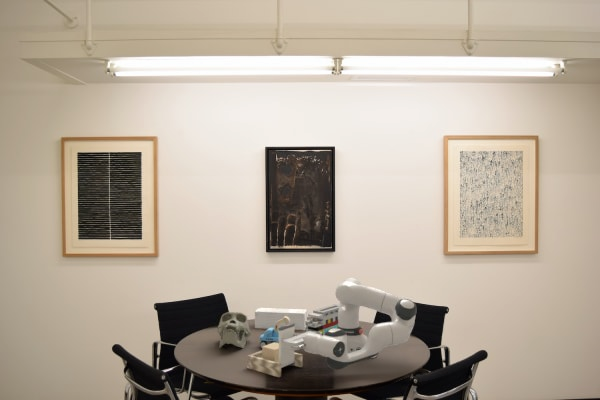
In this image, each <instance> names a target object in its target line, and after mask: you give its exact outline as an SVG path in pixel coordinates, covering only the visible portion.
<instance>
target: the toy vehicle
mask: <svg viewBox="0 0 600 400" xmlns="http://www.w3.org/2000/svg"><path fill="white" fill-rule="evenodd" d="M339 305H340V304H336V303H335V304H331V305H328V306H325V307H321V308H320V307H319V308H318V309H315V310H313V311H312V312H311V313H307V317H309V318H310V319H307V321H305V326H307V328H306V329H305V330H304V331H305V332H308V331H312V332H322V336H323V335H324V334H325V333H326V332H327V331H328V330H329V329H330V328H337V327H338V310H339ZM305 332H304V333H305Z"/></svg>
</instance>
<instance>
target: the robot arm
mask: <svg viewBox="0 0 600 400" xmlns="http://www.w3.org/2000/svg"><path fill="white" fill-rule="evenodd" d="M334 295H335V297H336V299H337V300H338V301H339V304H338V305H339V310H338V327H337V328H330V329H329V330H328V331H327V332H326V333H325V334H324V335H323V336H322V332H312V331H308V332H301V333H297V332H296V333H295V332H294V334H293V337H292V338H289V339H286V338H281V342H282V343H283V348H284V349H289V350H294V351H299V350H301V349H303V351H304V352H306V353H309V354H314V355H320V356H322V357H325V363H326V365H327V366H328V367H329V368H330V369H332V370H336V371H338V370H342V369H344V368H347V367H349V366H350V365H353V364H356V363H359V362H363V361H366V360H367V359H375V358H376V357H377V356H378V354H379V353H380V352H381V351H382V350H383V349H384V348H387V347H391V346H396V345H400V344H403V343H406V342H408V340H409V339H410V336H411V335H412V331H413V329H414V326H415V323H416V322H415V320H416V315H417V312H418V311H417V310H418V307H417V304H416V303H415V302H414V301H412V300H411V299H408V298H401V297H399V296H397V295H396V294H394V293H391V292H388V291H385V290H383V289H379V288H376V287H373V286H367V285H362V284H361V281H359V280H358V279H357V278H354V277H348V278H346V279H343V281H341V282H340V283H339V284H338V285H337V287H336V288H335V294H334ZM360 307H364V308H367V309H370V310H373V311H375V312H379V313H382V314H386V315H388V316H389V317H390V319H391V320H389V321H386V322H380V323H376V324H374V325H373V326H372V327H371V328H370V330H369V332H368V336H367V335H365V334H364V328H363V326H361V325H360Z"/></svg>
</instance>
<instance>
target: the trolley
mask: <svg viewBox="0 0 600 400" xmlns="http://www.w3.org/2000/svg"><path fill="white" fill-rule="evenodd" d="M294 326H295V323H291V324H288V325H285V326H282V327H279V328H278V329H279V343H275V342H274V343H271V344H268V345H265V346H263V347H262V348H261V349H262V358H263V359H266V360H270V361H274V362H277V363H281V369H282V368H284V367H287V366H290V367H294V352H295V350H289V349H284V348H283V343H282V342H281V338H286V339H289V338H292V337H293V334H295V330H294Z"/></svg>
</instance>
